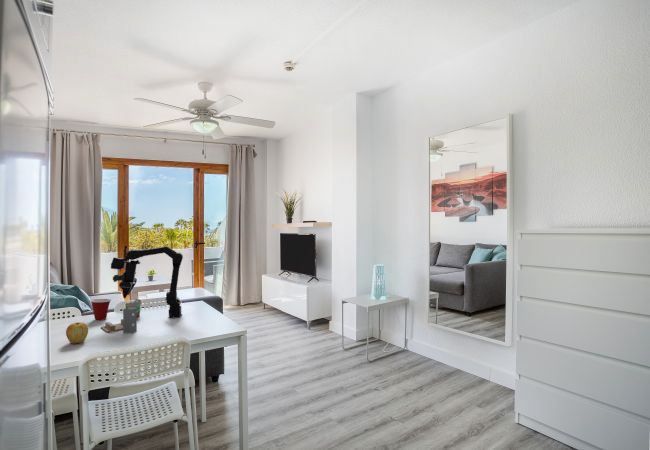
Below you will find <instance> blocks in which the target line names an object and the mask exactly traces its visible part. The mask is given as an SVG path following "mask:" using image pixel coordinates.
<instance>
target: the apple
mask: <svg viewBox="0 0 650 450" xmlns="http://www.w3.org/2000/svg"><path fill="white" fill-rule="evenodd" d="M88 333H89V327H88V325H87V324H86V323H85V322H77V321H76V322H73V323H70V324H69V325H68V326H67V327H66V330H65V336H66V338H67V340H68V341H69V343H70V344H80V343H83V342H84V341H86V338H87V336H88V335H89V334H88Z"/></svg>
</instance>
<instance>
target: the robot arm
mask: <svg viewBox="0 0 650 450" xmlns="http://www.w3.org/2000/svg"><path fill="white" fill-rule="evenodd" d="M159 254H166V255H167V256H168V257H170V259H171V260H172V273H171V281H170V287H169V291H166V297H165V300H164V301H165V302H166V304H167V305H169V306H168V318H170V319H171V318H172V319H173V318H181V316H182V315H183V313H182V305H181V303H182V301H181V300H179V299H178V290H177V289H178V281H179V275H180V268H181V264H182V261H183V259H184V255H183V253H181V252H177V251H176V250H173V248H170V246H167V245H165V246H161V247H156V248H155V247H153V248H148V249H132V250H128V251H127V253H126V255H125V257H123V258H119V257H113V258H112V260H111V263H110V269H112V270H121V271H122V270H123V269H124V271H123V273H122V274H114V275H113V276H112V280H113V283H116V282H119V284H118V286H119V288H120V289H121V291H122V297H123V299H126V298H127V296H130V294H131V292H132V290H133V289H134V287H135V286H136V285H137V281H138V280H137V278H136V274H137V272H136V271H137V265H141V261H140V260H139V259H140V258H143V257H147V256H148V257H149V256H154V255H159ZM129 260H130V261H129Z"/></svg>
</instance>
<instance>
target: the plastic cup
mask: <svg viewBox="0 0 650 450" xmlns="http://www.w3.org/2000/svg"><path fill="white" fill-rule="evenodd" d="M111 301H112V299H111V298H110V299H109V298H96V299H91V300H90V303H91V307H92V312H93V316H94V320H95V321H98V322H99V321H104V320H107V318H108V313H109V306H110V303H111Z"/></svg>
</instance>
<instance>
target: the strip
mask: <svg viewBox="0 0 650 450" xmlns="http://www.w3.org/2000/svg"><path fill="white" fill-rule="evenodd" d="M122 317H123V318H122V319H123V330H122V331H123V333H124V334H132V333H135V332H137V330H138V328H137V323H138V322H137V321H138V320H137V319H138V318H137V313H136V308H131V307H130V308H126V307H125V308H123V309H122Z"/></svg>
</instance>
